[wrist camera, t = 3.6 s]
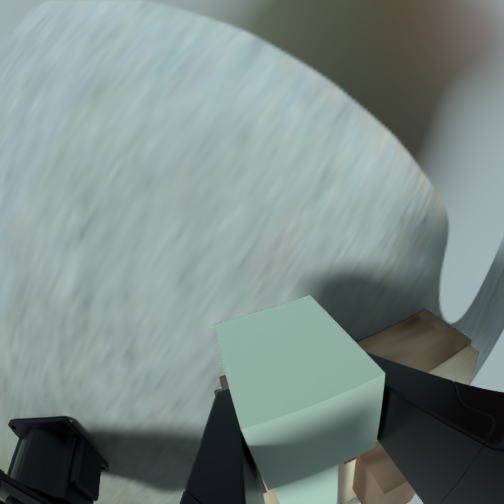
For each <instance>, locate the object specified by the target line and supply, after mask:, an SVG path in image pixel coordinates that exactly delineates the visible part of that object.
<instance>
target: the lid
mask: <svg viewBox="0 0 504 504" xmlns="http://www.w3.org/2000/svg"><path fill="white" fill-rule="evenodd" d="M478 353H479V352H478V351H477V350H475V349H474V348H473V347H471V346H470V345H468V346H467V347H465V348H464V349H463V350H461V351H460V352H458V353H457V354H455V355H454V356H453V357H451V358H450V359H448V360H447V361H445V362H444V363H442V364H441V365H439V366H438V367H436V368H434V369H433V370H431V371H430V372H428V373H430V374H433V375H437V376H440V377H443V378H446V379H450V380H452V381H453V382H454V381H456V382H460V383H463V384H467V385H469V382H470V379H471V376H472V373H473V370H474V367H475V364H476V360H477V357H478ZM262 479H263V478H262ZM263 482H264V480H263ZM264 485H265V488H266V491H267V493H264V494H263V495H264V500H265V504H280V503H279V501H278V499H277V497H276V495H275V492H274V490H273V489H271V490H268V489H267V487H266V484H265V482H264ZM415 493H416V492H415V491H414V490H413V488H412V487H411V486H410V484H409V483H408V481H407V480H406V479H405V477H404V476H403V475H402V473H401V472H400V471H399V469H398V468H397V466H396V465H395V464H394V462H393V461H392V460H391V458H390V457H389V456H388V454H387V453H386V451H385V450H384V449H383V447H382V446H381V445H380V443H379V442H378V440H376V446H375V448H373V449H371V450H369V451H367V452H365V453H363V454H361V455H359V456H357V457H356V459H355V460H353V461H351V462H349V463H346V464H344V463H342V464H339V465H338V490H337V504H342V503H344V502H347V501H349V500H351V499H353V498H355V497H358V499H359V501H360V502H361V504H406V503H408V502H410V501H411V499H412V498H413V496H414V495H415Z"/></svg>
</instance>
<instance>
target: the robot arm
mask: <svg viewBox="0 0 504 504" xmlns="http://www.w3.org/2000/svg"><path fill="white" fill-rule="evenodd" d="M366 353H367V354H368V356H369V357H370V358H371V359H372V360H373V361H374V362H375V363H376V364H377V365H378V366H379V367H380V368H381V369H382V370H383V371H384V372H385V382H384V391H383V400H382V408H381V415H380V422H379V428H378V434H377V440H378V442H379V443H380V445H381V446H382V447H383V449H384V450H385V451H386V453H387V454H388V456H389V457H390V458H391V460H392V461H393V462H394V464H395V465H396V466H397V468H398V469H399V471H400V472H401V473H402V475H403V476H404V477H405V479H406V480H407V481H408V483H409V484H410V486H411V487H412V488H413V490H414V491H415V492H416V494H417V495H418V496H419V498H420V499H421V500H422V502H423V503H424V504H504V392H498V391H492V390H487V389H482V388H478V387H474V386H470V385H467V384H463V383H460V382H456V381H454V382H453V381H452V380H450V379H446V378H443V377H440V376H437V375H433V374H430V373H427V372H424V371H421V370H418V369H415V368H412V367H409V366H406V365H403V364H400V363H397V362H394V361H391V360H388V359H385V358H382V357H380V356H377V355H374V354H371V353H368V352H366ZM8 425H9V427H10V428H11V429H12V431H13V432H14V433H15V434H16V435H17V436H18V437H19V441H18V443H17V446H16V449H15V452H14V455H13V457H12V460H11V463H10V467H9V470H8V473H7V475H6V474H5V473H4V471H2V470H1V469H0V497H1V498H3V499H4V500H5V502H3V501H1V500H0V504H93V503H94V501H97V500H98V497H99V485H100V475H101V472H103V471H108V468H109V465H108V464H107V463H106V462H105V461H104V460H103V459H102V458H101V456H100V455H99V454H98V453H97V452H96V451H95V450H94V449H93V448H92V447H91V446H90V444H89V443H88V442H87V441H86V440H85V439H84V438H83V436H82V435H81V434H80V433H79V432H78V430H77V429H76V428H75V427H74V426H73V424H72V423H71V422H70V421H69V420H68V419H66V418H64V417H58V418H44V419H22V420H10V422H9V424H8ZM185 490H186V491H184V492H183V495H182V498H181V501H180V504H265V500H264V495H263V491H262V486H261V481H260V476H259V471H258V467H257V465H256V463H255V461H254V458H253V456H252V454H251V452H250V449H249V447H248V445H247V443H246V440H245V438H244V436H243V433H242V431H241V428H240V425H239V421H238V418H237V414H236V411H235V407H234V404H233V400H232V397H231V393H230V389H229V388H227V389H223V390H219V391H218V392H217V393H216V396H215V399H214V402H213V405H212V409H211V412H210V415H209V418H208V421H207V424H206V427H205V430H204V433H203V436H202V439H201V442H200V445H199V448H198V451H197V454H196V457H195V460H194V463H193V466H192V469H191V472H190V475H189V478H188V481H187V484H186V487H185Z"/></svg>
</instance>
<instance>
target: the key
mask: <svg viewBox="0 0 504 504" xmlns="http://www.w3.org/2000/svg"><path fill="white" fill-rule="evenodd" d="M213 326H214V330H215V335H216V339H217V343H218V347H219V351H220V355H221V359H222V363H223V367H224V370H225V374H226V378H227V382H228V385H229V389H230V393H231V397H232V400H233V404H234V407H235V411H236V414H237V418H238V421H239V425H240V428H241V431H242V433H243V436H244V438H245V440H246V443H247V445H248V447H249V449H250V452H251V454H252V456H253V458H254V461H255V463H256V465H257V467H258V469H259V472H260V474H261V476H262V478H263V480H264V482H265V484H266V487H267V489H268V490H271V489H273V490H274V492H275V495H276V497H277V499H278V501H279V503H280V504H337V490H338V465H339V464H342V463H344V462H346V461H348V460H350V459H353V458H355V457H357V456H359V455H361V454H363V453H365V452H367V451H369V450H371V449H373V448H375V446H376V440H377V434H378V428H379V422H380V415H381V408H382V400H383V391H384V382H385V372H384V371H383V370H382V369H381V368H380V367H379V366H378V365H377V364H376V363H375V362H374V361H373V360H372V359H371V358H370V357H369V356H368V354H367V353H366V352H365V351H364V350H363V349H362V348H361V347H360V346H359V345H358V344H357V343H356V342H355V341H354V340H353V339H352V338H351V337H350V336H349V335H348V334H347V333H346V332H345V331H344V330H343V329H342V328H341V327H340V325H339V324H338V323H337V322H336V321H335V320H334V319H333V318H332V317H331V316H330V315H329V314H328V313H327V312H326V311H325V310H324V309H323V308H322V307H321V306H320V305H319V304H318V303H317V302H316V301H315V300H314V299H313V298H312V297H311V296H310V295H308V296H305V297H302V298H299V299H296V300H293V301H290V302H287V303H284V304H281V305H277V306H274V307H271V308H268V309H265V310H261V311H258V312H255V313H252V314H248V315H245V316H241V317H238V318H235V319H231V320H228V321H224V322H221V323H217V324H214V325H213Z"/></svg>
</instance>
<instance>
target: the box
mask: <svg viewBox="0 0 504 504" xmlns="http://www.w3.org/2000/svg"><path fill="white" fill-rule="evenodd" d="M356 343H357V344H358V345H359V346H360V347H361V348H362V349H363V350H364V351H365V352H368V353H371V354H374V355H377V356H380V357H382V358H385V359H388V360H391V361H394V362H397V363H400V364H403V365H406V366H409V367H412V368H415V369H418V370H421V371H424V372H427V373H428V372H430V371H431V370H433V369H434V368H436V367H438V366H439V365H441V364H442V363H444V362H445V361H447V360H448V359H450V358H451V357H453V356H454V355H455V354H457V353H458V352H460V351H461V350H463V349H464V348H465V347H467V346H468V345H470V344H471V339H469V338H468V337H467V336H465V335H464V334H462V333H461V332H459V331H458V330H456V329H455V328H453V327H452V326H450V325H449V324H447V323H446V322H445V321H443V320H442V319H440V318H439V317H437V316H436V315H434V314H433V313H431V312H430V311H428V310H426V309H425V310H423V311H421V312H419V313H417V314H415V315H413V316H411V317H409V318H407V319H405V320H403V321H401V322H399V323H397V324H395V325H393V326H391V327H389V328H387V329H385V330H382V331H380V332H378V333H376V334H374V335H371V336H369V337H367V338H365V339H362V340H360V341H358V342H356ZM219 378H220V382H221V386H222V389H220V390H223V389H227V388H229V385H228V382H227V378H226V375H225V376H222V377H219ZM218 391H219V390H216V391H214V392H215V396H216V393H217V392H218ZM355 459H356V457H355V458H353V459H350V460H348V461H346V462H344V464H346V463H349V462H351V461H353V460H355ZM258 471H259V469H258ZM259 476H260V481H261V486H262V491H263V494H264V493H267V491H266V488H265V485H264V482H263V479H262V476H261V474H260V472H259Z"/></svg>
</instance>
